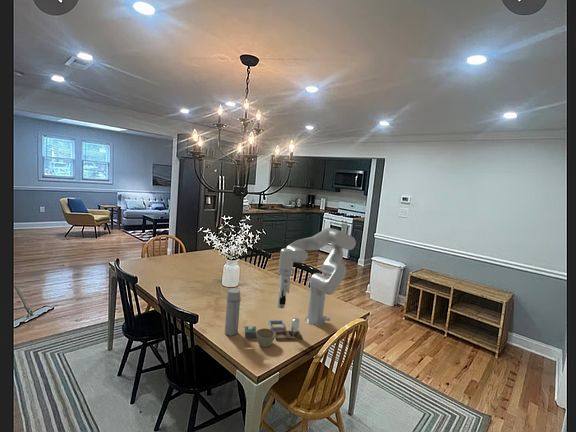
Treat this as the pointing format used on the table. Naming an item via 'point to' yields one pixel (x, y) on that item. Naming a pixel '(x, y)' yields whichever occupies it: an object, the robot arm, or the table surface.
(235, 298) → the water bottle
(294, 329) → the billet
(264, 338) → the flower pot
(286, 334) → the pallet board
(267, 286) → the table surface
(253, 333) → the console
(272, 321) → the tote
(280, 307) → the billet
